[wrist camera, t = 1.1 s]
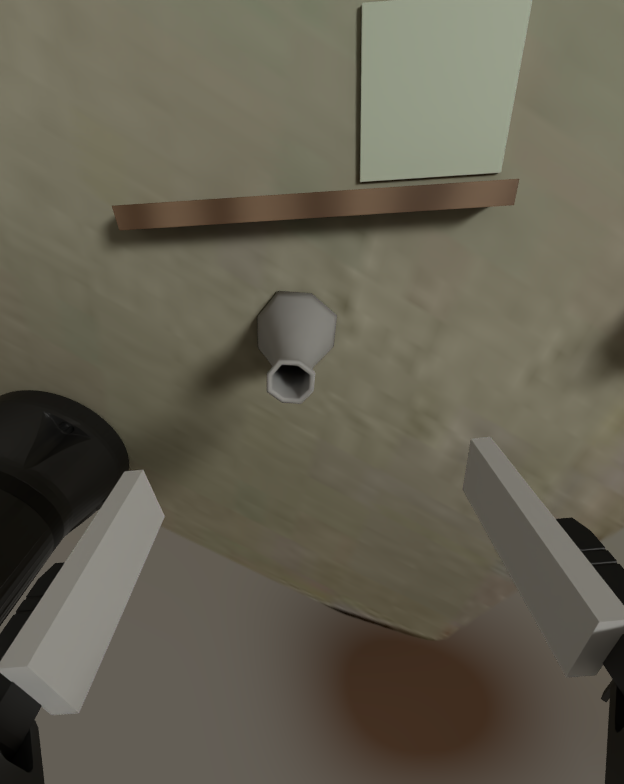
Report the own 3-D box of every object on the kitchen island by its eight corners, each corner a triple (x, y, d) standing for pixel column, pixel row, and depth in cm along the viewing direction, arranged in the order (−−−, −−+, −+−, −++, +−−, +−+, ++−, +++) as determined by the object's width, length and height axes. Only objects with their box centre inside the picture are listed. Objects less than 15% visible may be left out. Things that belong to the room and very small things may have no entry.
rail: (138, 227, 26) (119, 230, 24) (132, 205, 25) (111, 205, 23) (493, 204, 25) (513, 205, 23) (497, 180, 25) (519, 178, 22)
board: (359, 182, 25) (360, 181, 24) (361, 5, 20) (362, 2, 20) (498, 172, 24) (500, 172, 24) (531, -9, 20) (534, -12, 20)
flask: (245, 350, 31) (220, 409, 23) (271, 275, 28) (253, 309, 19) (318, 377, 33) (320, 442, 24) (350, 308, 29) (367, 354, 21)
